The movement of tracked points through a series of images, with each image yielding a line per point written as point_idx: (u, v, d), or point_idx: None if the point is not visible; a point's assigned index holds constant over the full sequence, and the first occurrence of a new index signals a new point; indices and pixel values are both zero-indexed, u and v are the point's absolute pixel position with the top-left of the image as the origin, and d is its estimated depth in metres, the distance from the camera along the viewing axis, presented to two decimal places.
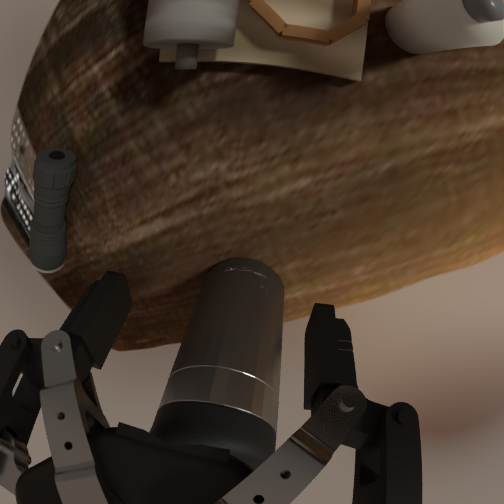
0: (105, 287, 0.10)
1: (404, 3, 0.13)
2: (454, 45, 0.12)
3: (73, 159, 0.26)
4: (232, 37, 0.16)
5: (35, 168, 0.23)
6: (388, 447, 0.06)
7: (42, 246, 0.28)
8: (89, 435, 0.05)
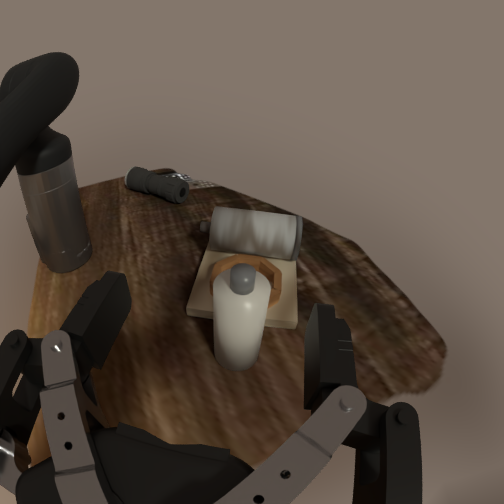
0: (105, 287, 0.10)
1: None
2: None
3: (176, 199, 0.57)
4: (213, 238, 0.41)
5: (181, 179, 0.58)
6: (388, 447, 0.06)
7: (141, 173, 0.60)
8: (89, 435, 0.05)
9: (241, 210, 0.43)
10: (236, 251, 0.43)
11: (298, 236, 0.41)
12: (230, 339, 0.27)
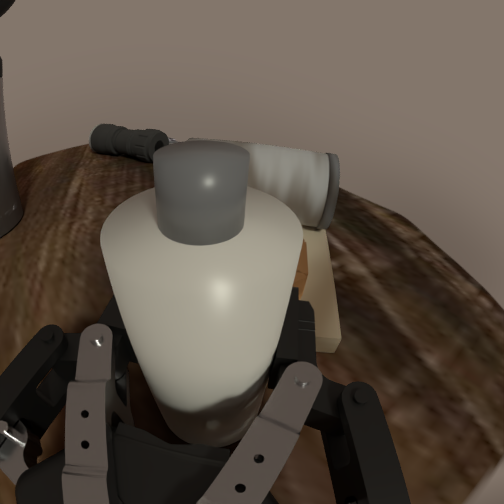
0: None
1: None
2: None
3: (150, 155, 0.39)
4: None
5: (158, 130, 0.40)
6: (352, 429, 0.07)
7: (109, 128, 0.41)
8: (110, 438, 0.06)
9: (234, 141, 0.24)
10: None
11: (333, 180, 0.22)
12: (171, 395, 0.08)
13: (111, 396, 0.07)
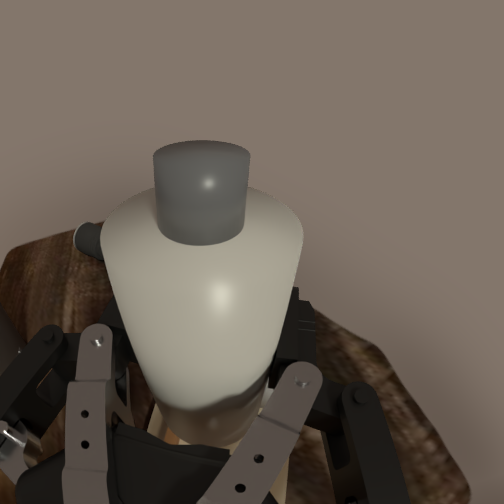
0: None
1: None
2: None
3: None
4: None
5: None
6: (352, 429, 0.07)
7: (92, 234, 0.43)
8: (110, 438, 0.06)
9: None
10: None
11: None
12: (170, 395, 0.08)
13: (111, 396, 0.07)
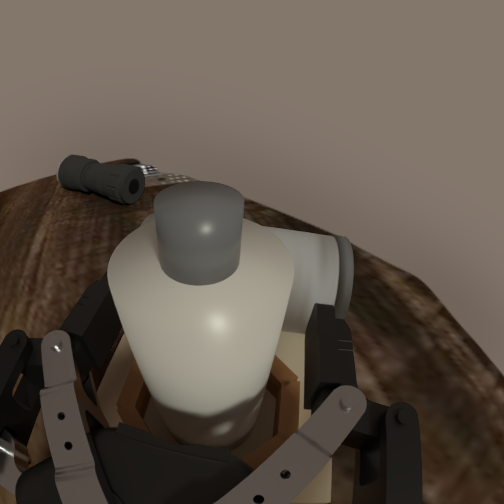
0: (105, 287, 0.10)
1: None
2: None
3: (124, 198, 0.34)
4: None
5: (131, 165, 0.34)
6: (388, 447, 0.06)
7: (77, 162, 0.35)
8: (89, 435, 0.05)
9: None
10: None
11: (343, 291, 0.16)
12: (174, 410, 0.09)
13: (81, 395, 0.07)
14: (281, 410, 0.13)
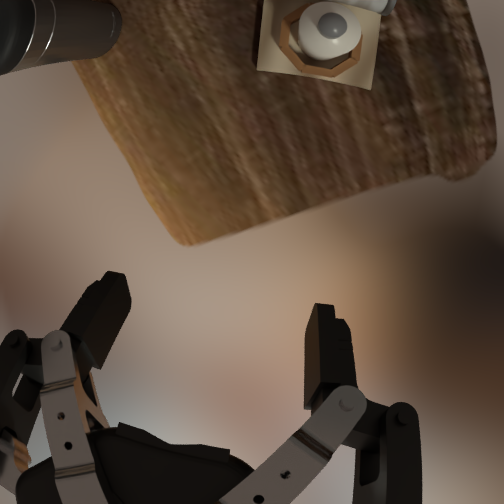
0: (105, 287, 0.10)
1: None
2: (298, 31, 0.21)
3: None
4: None
5: None
6: (388, 447, 0.06)
7: None
8: (89, 435, 0.05)
9: None
10: None
11: (389, 6, 0.19)
12: (317, 56, 0.23)
13: (81, 395, 0.07)
14: None
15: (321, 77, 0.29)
